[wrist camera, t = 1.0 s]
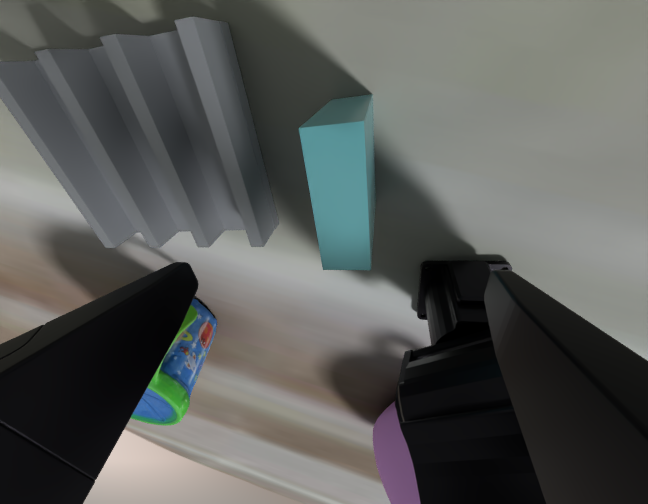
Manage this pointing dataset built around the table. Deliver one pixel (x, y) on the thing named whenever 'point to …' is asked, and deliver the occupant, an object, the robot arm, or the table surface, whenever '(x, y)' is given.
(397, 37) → the table surface
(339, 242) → the tall teal box
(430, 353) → the robot arm
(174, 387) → the snack cup
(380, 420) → the teapot
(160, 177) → the dish rack
